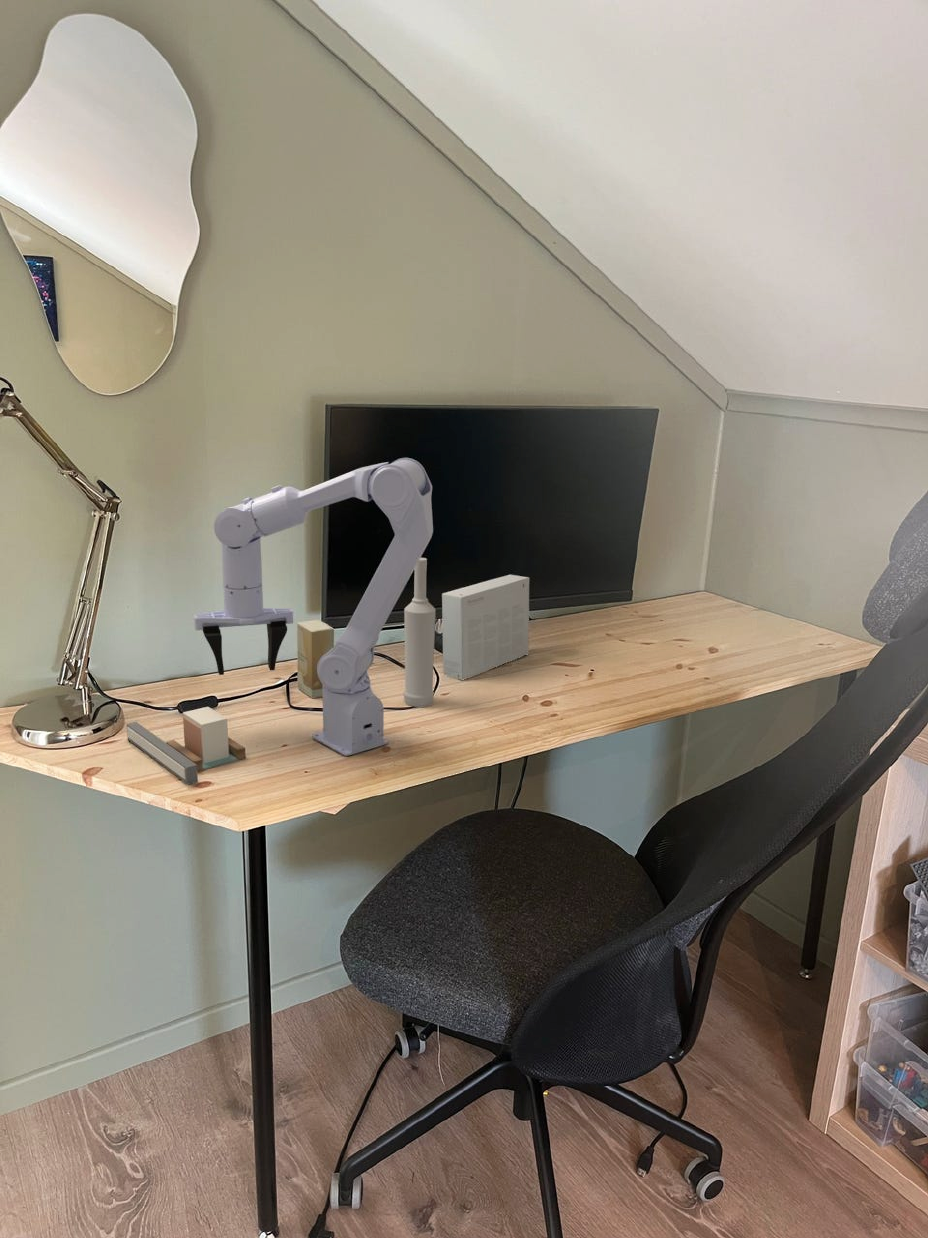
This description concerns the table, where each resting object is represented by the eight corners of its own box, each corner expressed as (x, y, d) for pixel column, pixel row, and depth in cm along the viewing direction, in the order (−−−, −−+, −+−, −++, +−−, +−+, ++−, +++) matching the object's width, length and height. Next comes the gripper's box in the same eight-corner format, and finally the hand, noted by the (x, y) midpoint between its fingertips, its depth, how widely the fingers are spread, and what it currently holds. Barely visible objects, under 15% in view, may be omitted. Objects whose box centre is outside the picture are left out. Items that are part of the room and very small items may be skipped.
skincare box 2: (507, 649, 196) (510, 573, 191) (529, 655, 192) (533, 577, 188) (439, 674, 180) (441, 591, 175) (462, 681, 176) (464, 597, 172)
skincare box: (296, 688, 171) (295, 621, 167) (319, 684, 173) (318, 618, 170) (312, 699, 165) (311, 631, 162) (335, 695, 168) (334, 627, 164)
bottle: (426, 709, 162) (429, 563, 155) (398, 704, 164) (399, 560, 157) (438, 699, 167) (441, 557, 160) (410, 695, 169) (412, 554, 162)
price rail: (197, 781, 134) (196, 764, 133) (186, 784, 133) (185, 768, 132) (137, 737, 148) (136, 721, 147) (126, 739, 147) (125, 724, 146)
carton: (209, 744, 146) (208, 706, 144) (228, 756, 141) (227, 718, 140) (183, 750, 143) (181, 712, 141) (202, 764, 139) (200, 725, 137)
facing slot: (245, 757, 142) (245, 747, 141) (194, 772, 136) (194, 761, 136) (216, 739, 148) (215, 729, 148) (166, 752, 143) (166, 742, 142)
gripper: (195, 594, 139) (200, 683, 143) (295, 588, 144) (298, 674, 148) (191, 583, 146) (196, 668, 149) (287, 577, 150) (290, 660, 154)
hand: (246, 670), depth 149 cm, fingers open, 7 cm apart
